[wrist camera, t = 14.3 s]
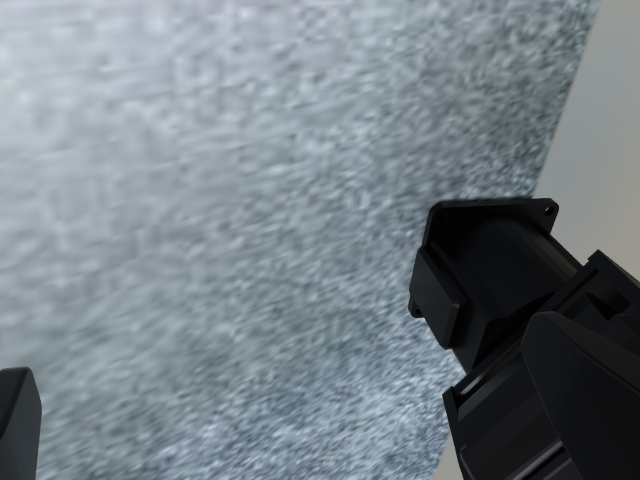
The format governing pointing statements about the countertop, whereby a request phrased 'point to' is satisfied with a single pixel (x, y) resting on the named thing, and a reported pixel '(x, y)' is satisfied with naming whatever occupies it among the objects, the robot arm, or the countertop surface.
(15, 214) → the countertop surface
